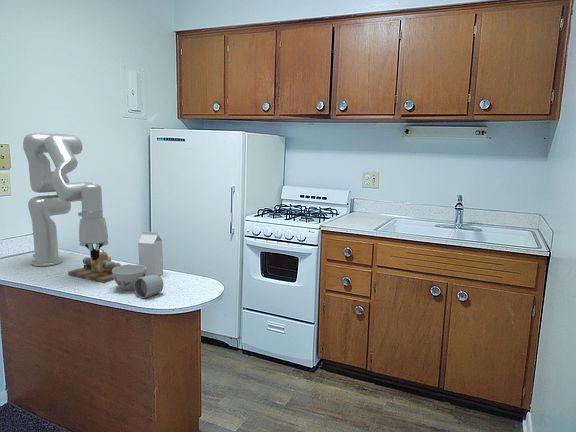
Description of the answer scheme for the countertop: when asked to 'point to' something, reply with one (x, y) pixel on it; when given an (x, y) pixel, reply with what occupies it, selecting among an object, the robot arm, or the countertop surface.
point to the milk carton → (151, 253)
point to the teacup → (128, 275)
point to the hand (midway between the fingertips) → (95, 259)
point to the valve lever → (103, 255)
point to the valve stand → (95, 270)
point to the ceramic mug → (148, 286)
